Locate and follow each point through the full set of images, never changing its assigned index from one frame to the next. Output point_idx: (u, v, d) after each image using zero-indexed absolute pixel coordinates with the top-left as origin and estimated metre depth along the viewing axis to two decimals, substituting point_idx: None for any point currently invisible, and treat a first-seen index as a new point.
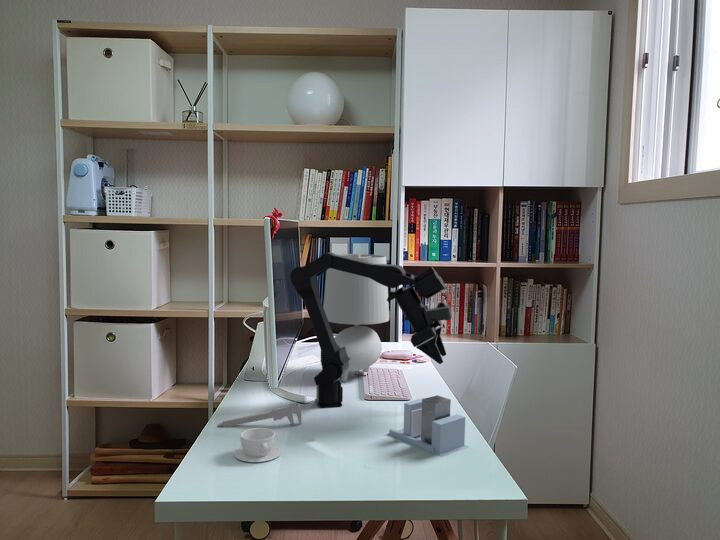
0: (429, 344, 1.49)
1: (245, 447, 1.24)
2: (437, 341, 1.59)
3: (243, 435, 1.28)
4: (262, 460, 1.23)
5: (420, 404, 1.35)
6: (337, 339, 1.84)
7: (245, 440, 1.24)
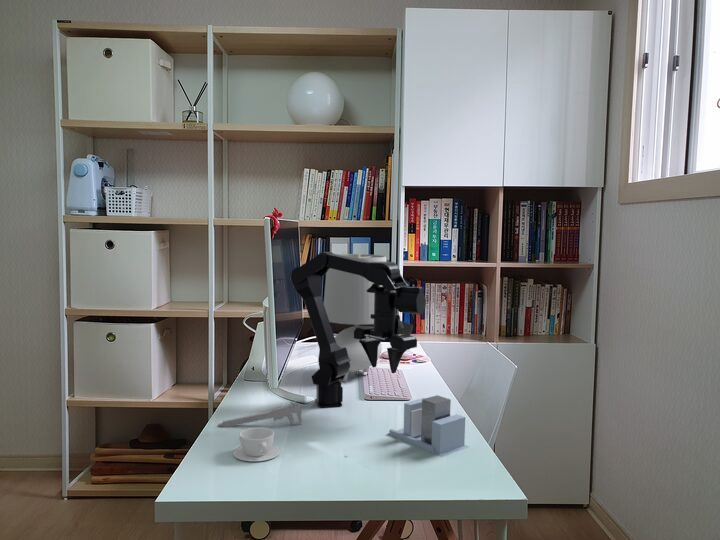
0: (397, 351, 1.49)
1: (244, 446, 1.25)
2: (375, 351, 1.56)
3: (242, 434, 1.28)
4: (261, 459, 1.23)
5: (420, 404, 1.35)
6: (337, 339, 1.84)
7: (244, 439, 1.24)
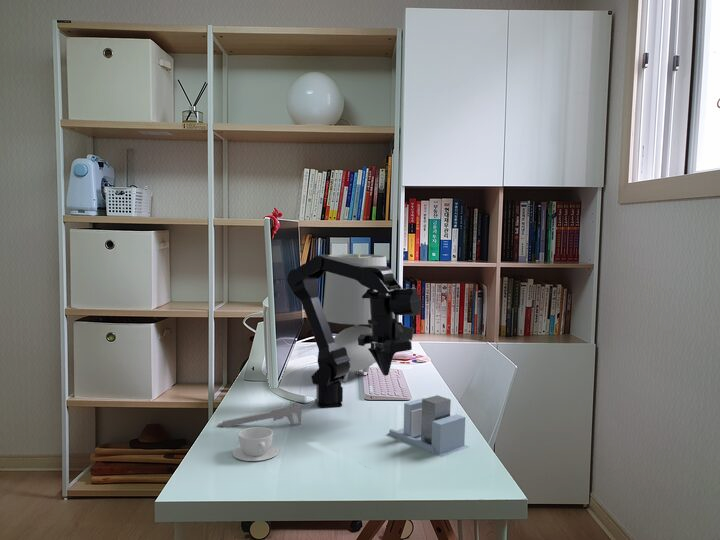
0: (386, 353, 1.51)
1: (243, 446, 1.25)
2: None
3: (241, 434, 1.28)
4: (260, 459, 1.24)
5: (420, 404, 1.35)
6: (337, 339, 1.84)
7: (243, 439, 1.24)
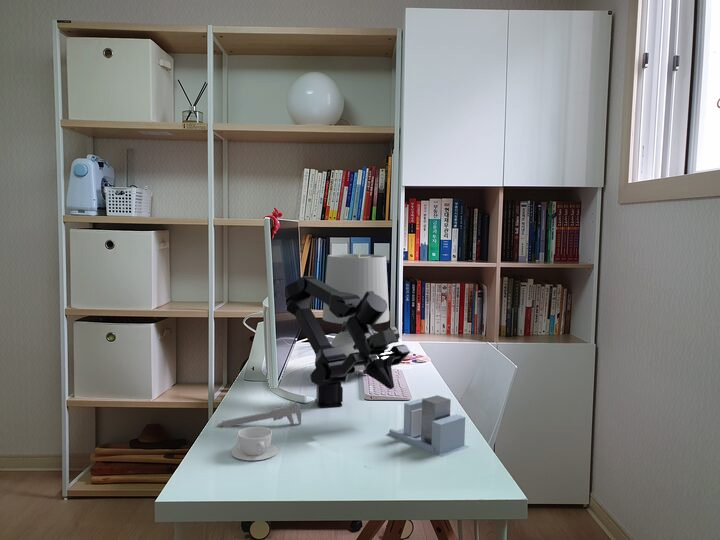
0: (377, 369, 1.44)
1: (242, 445, 1.25)
2: (385, 372, 1.44)
3: (240, 433, 1.28)
4: (259, 458, 1.24)
5: (420, 404, 1.35)
6: (337, 339, 1.84)
7: (242, 438, 1.25)
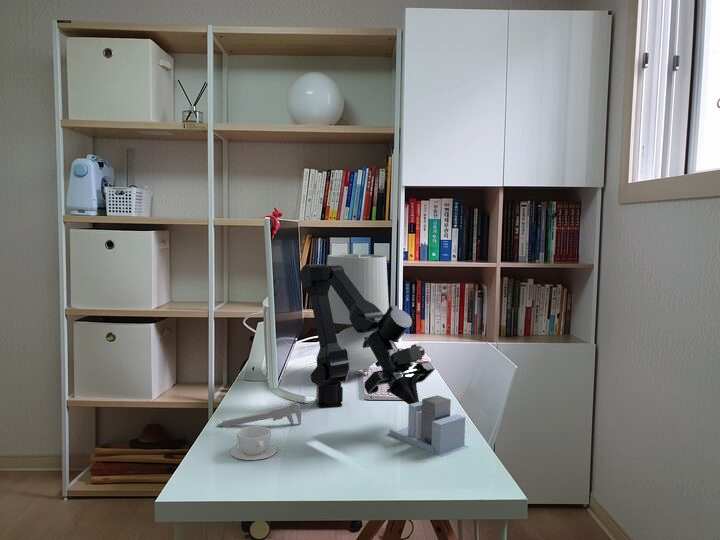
0: (401, 387, 1.38)
1: (241, 445, 1.25)
2: (410, 391, 1.38)
3: (239, 433, 1.29)
4: (258, 458, 1.24)
5: None
6: (337, 339, 1.84)
7: (241, 438, 1.25)
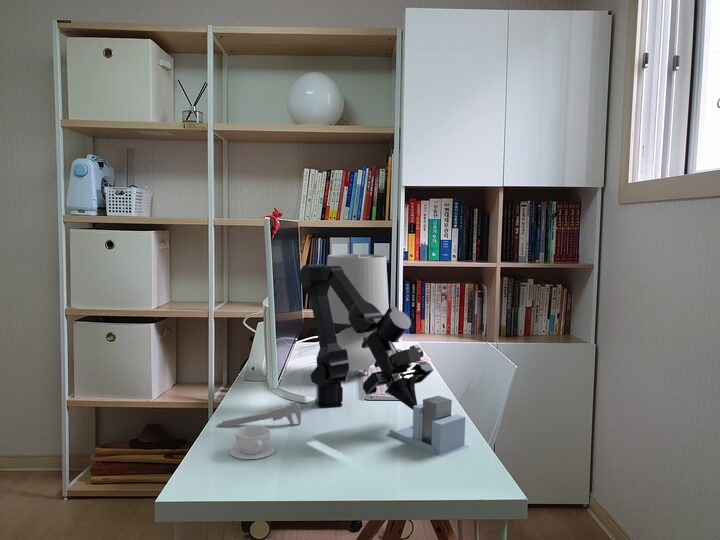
0: (399, 388, 1.38)
1: (239, 444, 1.26)
2: (408, 392, 1.38)
3: (238, 432, 1.29)
4: (256, 457, 1.25)
5: None
6: (337, 339, 1.84)
7: (239, 437, 1.25)
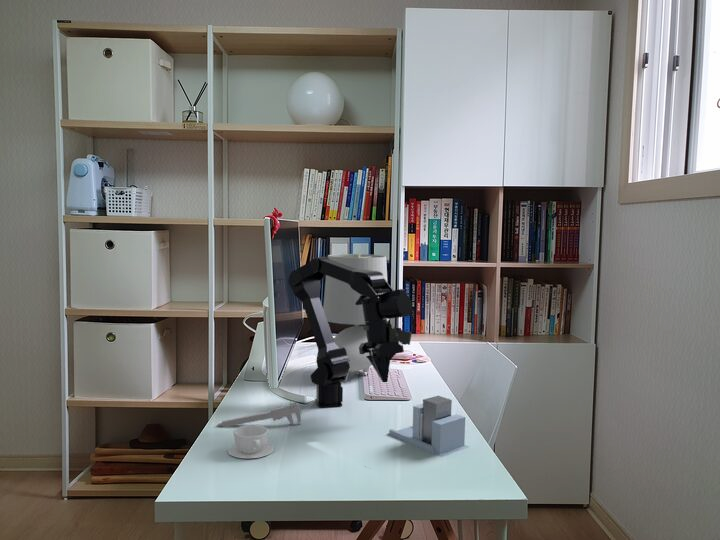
0: (383, 359, 1.47)
1: (238, 444, 1.26)
2: None
3: (236, 432, 1.29)
4: (254, 456, 1.25)
5: None
6: (337, 339, 1.84)
7: (238, 437, 1.26)
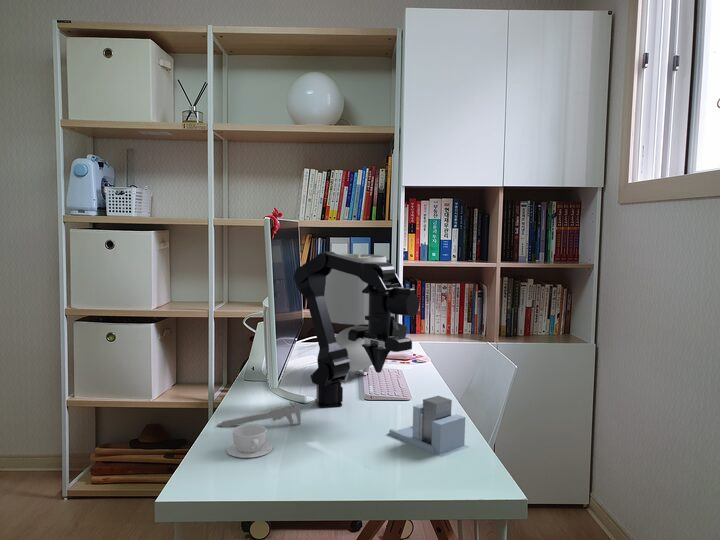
0: (382, 351, 1.49)
1: (236, 443, 1.27)
2: None
3: (235, 431, 1.30)
4: (253, 456, 1.25)
5: None
6: (337, 339, 1.84)
7: (236, 436, 1.26)
